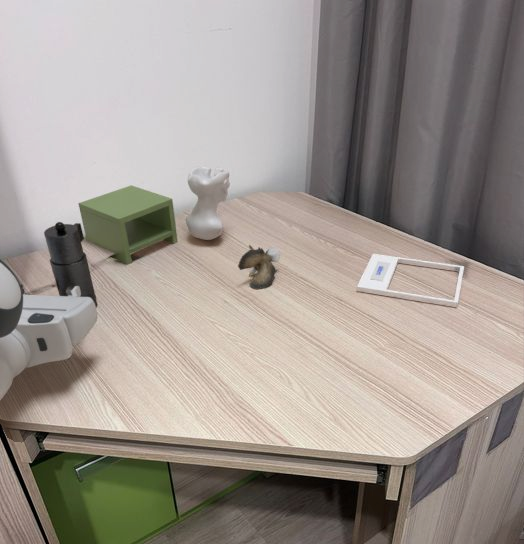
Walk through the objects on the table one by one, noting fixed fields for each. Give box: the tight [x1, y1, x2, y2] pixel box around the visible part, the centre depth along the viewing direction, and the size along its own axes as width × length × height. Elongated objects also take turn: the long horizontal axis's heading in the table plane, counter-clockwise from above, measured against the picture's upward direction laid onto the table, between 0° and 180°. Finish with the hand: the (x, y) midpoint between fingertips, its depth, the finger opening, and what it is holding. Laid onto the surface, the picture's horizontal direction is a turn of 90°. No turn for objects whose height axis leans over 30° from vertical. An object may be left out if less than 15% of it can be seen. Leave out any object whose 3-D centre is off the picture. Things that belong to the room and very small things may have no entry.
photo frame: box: [356, 253, 465, 308], centre depth 103 cm, size 15×1×18 cm
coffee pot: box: [43, 221, 98, 309], centre depth 95 cm, size 10×6×16 cm, turn 174°
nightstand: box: [78, 185, 179, 266], centre depth 117 cm, size 14×14×10 cm
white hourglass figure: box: [185, 166, 231, 241], centre depth 118 cm, size 10×11×15 cm
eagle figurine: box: [237, 244, 281, 290], centre depth 104 cm, size 8×7×9 cm
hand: (47, 288), depth 86 cm, fingers open, 8 cm apart
